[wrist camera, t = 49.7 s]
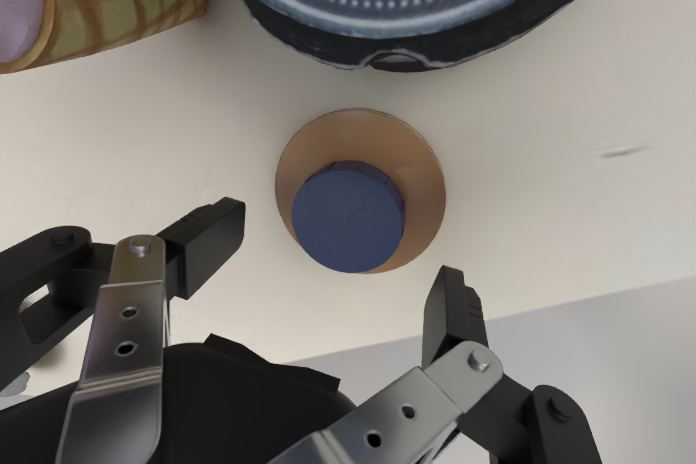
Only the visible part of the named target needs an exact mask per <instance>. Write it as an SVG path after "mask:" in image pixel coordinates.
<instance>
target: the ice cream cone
mask: <svg viewBox="0 0 696 464" xmlns="http://www.w3.org/2000/svg"><path fill="white" fill-rule="evenodd" d="M205 10H206V1H205V0H0V74H7V73H14V72H18V71H23V70H27V69H32V68H36V67H41V66H45V65H49V64H54V63H58V62H63V61H67V60H72V59H76V58H80V57H85V56H89V55H92V54H95V53H99V52H102V51H106V50H109V49H112V48H116V47H119V46H122V45H126V44H129V43H131V42H134V41H137V40H140V39H143V38H146V37H148V36H151V35H154V34H157V33H160V32H162V31H165V30H167V29H170V28H172V27H175V26H177V25H180V24H182V23H185V22H187V21H190V20H192V19H195V18H197V17H200V16H201V15H203V13H204V12H205Z"/></svg>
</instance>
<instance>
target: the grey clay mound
mask: <svg viewBox="0 0 696 464" xmlns="http://www.w3.org/2000/svg"><path fill="white" fill-rule="evenodd" d="M29 378H30V375H29V373H28V372H24V373H22V374H21V375H20V376H19V377H18V378H17V379H15V380H14V381H13V382H12V383H11V384H9V385H8V386H7V387H6V388H5V389H3V390H2V391H1V392H0V397H7V396H13V395H17V394H19V393H21V392H23V391H24V390H25V389H26V387H27V385H26V383H27V382H28V380H29Z"/></svg>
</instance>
